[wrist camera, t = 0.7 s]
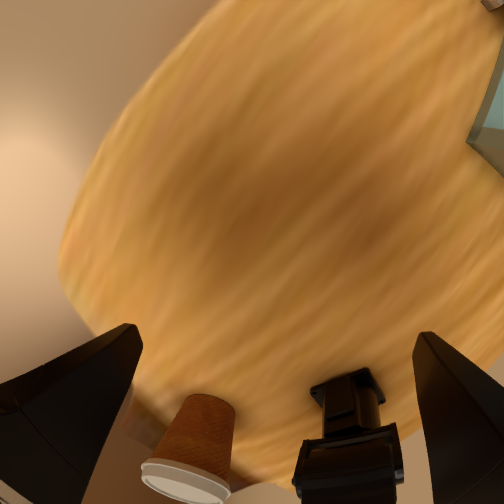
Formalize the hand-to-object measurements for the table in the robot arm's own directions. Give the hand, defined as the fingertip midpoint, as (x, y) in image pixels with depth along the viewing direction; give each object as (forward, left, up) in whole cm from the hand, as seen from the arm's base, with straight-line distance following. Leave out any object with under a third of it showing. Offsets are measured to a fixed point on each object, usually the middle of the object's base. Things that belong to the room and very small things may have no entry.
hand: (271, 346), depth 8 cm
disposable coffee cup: (-16, +20, -14) cm, 29 cm away
